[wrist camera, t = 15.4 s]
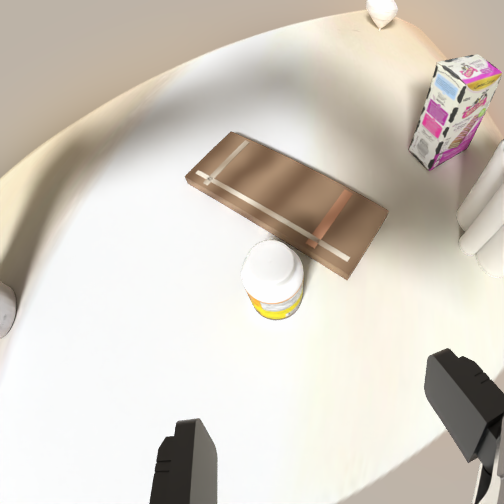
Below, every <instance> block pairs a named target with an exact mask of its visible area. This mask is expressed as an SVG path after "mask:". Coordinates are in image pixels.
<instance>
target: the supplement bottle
mask: <svg viewBox="0 0 504 504" xmlns="http://www.w3.org/2000/svg"><path fill="white" fill-rule="evenodd" d="M241 277H242V282H243V285H244V287H245V289H246V291H247V293H248V295H249V298H250V300H251V302H252V304H253V306H254V308H255V309H256V311H257V312H258V313H259V314H260V315H261V316H263V317H265V318H267V319H270V320H283V319H286V318H288V317H290V316H292V315H293V314H294V313H295V312H296V311H297V310H298V308H299V306H300V304H301V301H302V294H303V279H304V270H303V265H302V262H301V260H300V258H299V256H298V255H297V254H296V253H295V252H294V251H293V250H292V249H290V248H289V247H288V246H287V245H285V244H284V243H282V242H280V241H277V240H265V241H262V242H259V243H258V244H256V245H255V246H254V247H252V249H251V250H250V251H249V253H248V256H247V257H246V259H245V261H244V263H243V265H242V270H241Z"/></svg>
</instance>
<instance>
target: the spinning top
mask: <svg viewBox="0 0 504 504" xmlns="http://www.w3.org/2000/svg"><path fill="white" fill-rule="evenodd" d="M366 8H367V11H368V13H369V15H370V16H371V18H372V19H373V21H374V22H375V24H376V25H377V26H378V27H379V31H380V29H381V28H382V27H384V26H385V25H387V24H388V23H389V22H390V21H391V20H393V18H394V17H395V16H396V14H397V12H398V7H397V4H396V3H395V1H394V0H367V1H366Z"/></svg>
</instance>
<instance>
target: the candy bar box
mask: <svg viewBox="0 0 504 504" xmlns="http://www.w3.org/2000/svg"><path fill="white" fill-rule="evenodd" d="M502 74H503V73H502V72H501V71H500V70H498V69H497V68H496V67H495V66H493V65H492V64H491V63H489V62H488V61H487V60H485V59H484V58H483V57H481V56H480V55H478V54H475V55H470V56H465V57H460V58H455V59H450V60H445V61H440V62H437V65H436V68H435V72H434V75H433V79H432V82H431V85H430V89H429V92H428V95H427V98H426V101H425V104H424V108H423V111H422V113H421V116H420V120H419V122H418V125H417V128H416V131H415V134H414V137H413V139H412V142H411V145H410V148H409V151H410V152H411V153H412V154H413V155H414V156H415V157H416V158H417V159H418V160H419V161H420V163H422V165H423V166H424V167H425V168H426V169H427V170H428V171H430V170H432V169H433V168H435V167H437V166H438V165H440V164H442V163H443V162H445V161H447V160H448V159H450V158H452V157H453V156H455V155H457V154H458V153H460V152H462V151H463V150H465V149H467V148H468V146H469V144H470V142H471V140H472V138H473V136H474V135H475V132H476V130H477V128H478V126H479V124H480V122H481V120H482V118H483V116H484V114H485V112H486V110H487V108H488V106H489V104H490V102H491V99H492V97H493V95H494V93H495V90H496V88H497V86H498V83H499V81H500V79H501V76H502Z"/></svg>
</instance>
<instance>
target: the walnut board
mask: <svg viewBox="0 0 504 504" xmlns="http://www.w3.org/2000/svg"><path fill="white" fill-rule="evenodd" d="M185 178H186V180H187V182H188V184H190V185H191V186H193V187H195V188H197V189H198V190H200V191H202V192H203V193H205V194H207V195H208V196H210V197H212V198H213V199H215V200H217V201H219V202H220V203H222V204H224V205H225V206H227V207H229V208H230V209H232V210H234V211H235V212H237V213H239V214H240V215H242V216H244V217H245V218H247V219H249V220H250V221H252V222H254V223H255V224H257V225H259V226H260V227H262V228H264V229H265V230H267V231H268V232H270V233H272V234H273V235H275V236H277V237H278V238H280V239H282V240H283V241H285V242H287V243H288V244H290V245H291V246H293V247H295V248H296V249H298V250H300V251H301V252H303V253H304V254H306V255H308V256H309V257H311V258H312V259H314V260H316V261H317V262H319V263H320V264H322V265H324V266H325V267H327V268H328V269H330V270H332V271H333V272H335V273H336V274H338V275H340V276H341V277H343V278H344V279H346V280H348V278H349V277H350V275H351V274H352V272H353V271H354V269H355V268H356V266H357V264H358V263H359V261H360V260H361V258H362V256H363V255H364V253H365V252H366V250H367V248H368V247H369V245H370V244H371V242H372V240H373V239H374V237H375V235H376V234H377V232H378V230H379V229H380V227H381V225H382V223H383V222H384V220H385V218H386V216H387V214H388V212H389V211H388V210H387V209H385V208H383V207H381V206H380V205H378V204H376V203H374V202H373V201H371V200H369V199H367V198H366V197H364V196H362V195H360V194H358V193H357V192H355V191H353V190H351V189H349V188H347V187H345V186H344V185H342V184H340V183H338V182H336V181H334V180H332V179H330V178H328V177H327V176H325V175H323V174H321V173H319V172H317V171H315V170H313V169H311V168H309V167H307V166H305V165H303V164H301V163H299V162H297V161H295V160H293V159H291V158H289V157H286V156H284V155H282V154H280V153H278V152H276V151H274V150H272V149H269V148H267V147H265V146H263V145H261V144H258V143H256V142H254V141H252V140H250V139H247V138H245V137H243V136H240V135H238V134H236V133H234V132H230V133H229V134H228V135H227V136H226V137H225V138H224V139H223V140H221V141H220V142H219V143H218V144H217V145H216V146H215V147H214V148H213V149H212V150H211V151H210V152H209V153H208V154H207V155H206V156H205V157H204V158H203V159H202V160H201V161H200V162H199V163H198V164H197V165H196V166H195V167H194V168H193V169H192V170H191V171H190V172H189V173H188V174H187V175H186V176H185Z"/></svg>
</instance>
